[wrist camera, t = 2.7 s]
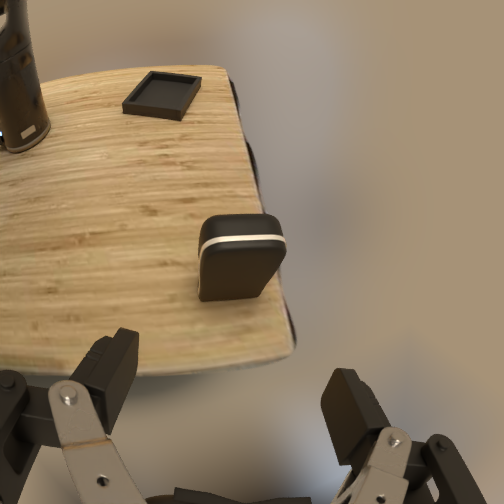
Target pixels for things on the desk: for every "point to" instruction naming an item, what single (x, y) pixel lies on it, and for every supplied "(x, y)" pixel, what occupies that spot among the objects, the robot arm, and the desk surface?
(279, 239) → the battery charger
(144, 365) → the desk surface
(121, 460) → the robot arm
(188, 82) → the dock pad
